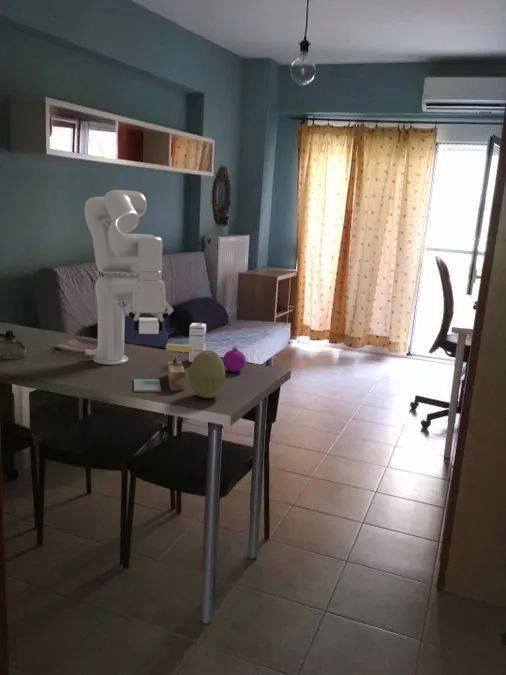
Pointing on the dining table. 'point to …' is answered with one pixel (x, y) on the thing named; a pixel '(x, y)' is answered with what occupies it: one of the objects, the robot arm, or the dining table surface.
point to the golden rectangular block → (178, 349)
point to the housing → (176, 375)
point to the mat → (147, 385)
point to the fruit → (207, 374)
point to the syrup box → (197, 339)
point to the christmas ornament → (234, 360)
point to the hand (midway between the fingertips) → (148, 332)
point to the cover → (148, 326)
